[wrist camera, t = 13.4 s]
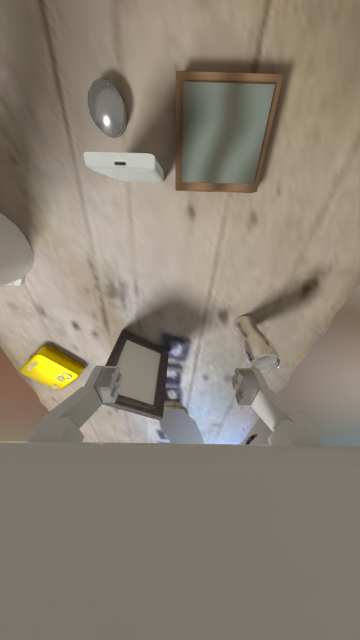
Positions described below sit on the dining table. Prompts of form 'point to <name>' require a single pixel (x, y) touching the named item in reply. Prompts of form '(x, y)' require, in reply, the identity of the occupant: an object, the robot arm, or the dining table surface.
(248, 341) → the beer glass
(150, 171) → the external hard drive
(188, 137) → the mirror
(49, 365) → the element tile
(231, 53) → the dining table surface
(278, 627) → the robot arm
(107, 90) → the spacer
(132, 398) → the picture frame
